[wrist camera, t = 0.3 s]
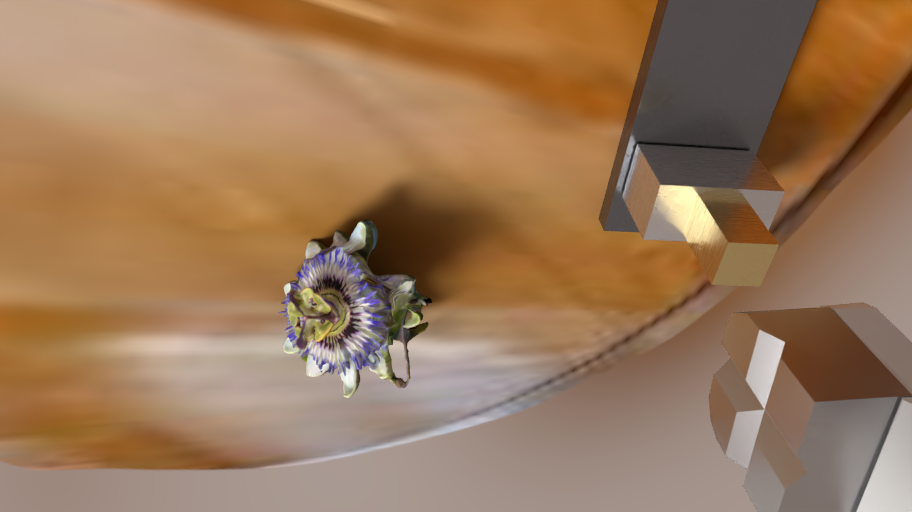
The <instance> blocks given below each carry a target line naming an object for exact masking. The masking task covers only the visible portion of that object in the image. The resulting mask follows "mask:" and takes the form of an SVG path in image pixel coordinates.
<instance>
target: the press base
mask: <svg viewBox="0 0 912 512" xmlns="http://www.w3.org/2000/svg"><path fill="white" fill-rule="evenodd" d="M816 2H817V0H658V4H657V7H656V11H655V15H654V18H653V22H652V25H651V29H650V33H649V36H648V40H647V44H646V47H645V51H644V55H643V58H642V62H641V66H640V69H639V73H638V77H637V80H636V84H635V88H634V91H633V95H632V99H631V102H630V106H629V110H628V113H627V117H626V121H625V124H624V128H623V132H622V135H621V139H620V143H619V146H618V150H617V154H616V157H615V161H614V165H613V168H612V172H611V176H610V179H609V183H608V187H607V190H606V194H605V198H604V201H603V205H602V209H601V212H600V216H599V220H600V223H601V225H602V227H603V230H604V231H623V232H639V230H638V228H637V226H636V224H635V222H634V220H633V218H632V216H631V214H630V212H629V210H628V207H627V205H626V203H625V201H624V199H623V197H622V195H623V191H624V188H625V184H626V181H627V177H628V174H629V170H630V167H631V163H632V160H633V156H634V153H635V150H636V146H637V144H645V145H661V146H678V147H694V148H710V149H726V150H743V151H753V152H754V154H755V155H757V152H758V150H759V147H760V145H761V142H762V140H763V137H764V135H765V132H766V129H767V127H768V124H769V122H770V119H771V117H772V114H773V112H774V109H775V107H776V104H777V101H778V99H779V96H780V94H781V91H782V89H783V86H784V84H785V81H786V78H787V76H788V73H789V71H790V68H791V66H792V63H793V61H794V58H795V56H796V53H797V50H798V48H799V45H800V43H801V40H802V38H803V35H804V33H805V30H806V28H807V25H808V22H809V20H810V17H811V15H812V12H813V10H814V7H815V5H816Z"/></svg>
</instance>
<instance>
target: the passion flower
mask: <svg viewBox="0 0 912 512" xmlns="http://www.w3.org/2000/svg"><path fill="white" fill-rule="evenodd" d="M377 239H378V230H377V228H376V226H375V225H374V223H373V222H372V221H371V220H369V219H368V220H364V221H360V222H359V223H358V224H357V226H356V228H355V230H354V231H353V233H352V234H351V236H350V238H349V237H348V236H347V235H346V234H344V233H343V232H341V231H340V230H336V231H335V234H334V237H333V243H332V245H331V247H330V248H328V247H325V246H324V245H323V244H322V243H320V242H317V241H310V242H309V243H308V245H307V249H306V259H304V264H303V265H302V269H301V271H300V272H298V273H297V274H296V276H297V277H298V281H295V280H293V281H291V282H288V283H287V284H286V285H285V287H284V291H285V294H286V298H285V299H284V301H285V302H282V303H281V304H286V305H285V310H286V311H282V312H279V314H280V313H285V315H284V317H285V316H286V317H287V318H288V320H287V323H288V327H287V328H286V330H285V331H286V332H287V333H288V336H287V338H286V340H285V342H284V344H283V350H284V352H285V353H289V354H291V353H295V352H297V351H299V353H298V354H300V355H301V358H302V359H303V361H305V362H307V363H306V374H307V375H308V376H310V377H316V376H320V375H323V374H325V373H326V372H328V371H329V373H330V374H331V375H332V374H333V373H334V369H336V368H338V371H339V372H338V374H340V376H341V380H342V381H343V382H344V385H343V387H344V389H343V391H344V397H351V396H352V395H353V394H354V392H355V391H356V390H357V388H358V386H359V382H360V375H359V370H360V369H362V365H363V366H364V367H365V366H369V369H370V370H371V371H374V372H376V373H377V374H378V375H379V377H380V378H381V379H389V380H390V381H391V382H393V383H394V384H395V385H396V386H397V387H398V388H405V387H406V386H407V384H408V382H409V379H410V366H409V357H408V349H407V343H408V342H409V340H411V339H412V338H413V337H415V336H416V335H418V334H419V333H421V332H423V331H425V330H426V328H427V327H428V322H426V323H422V324H420V325H417V324H419V323H420V322H421V321H422V319H423V315H422V313H421V308H422V306H423V305H427V304H429V303H433V302H432V300H431V299H430V298H427V297H425V296H422V295H420V294H419V293H418V292H417V291H416V289H415V282H416V278H414V277H413V276H410V275H408V274H386V275H375V274H373V273H372V272H371V270H370V269H369V267H368V265H367V263H368V258H369V255H370V253H371V251H372V250H373V249H374V248H375V246H376V242H377ZM413 303H416V304H414V305H412V304H413ZM427 306H428V305H427ZM408 310H410V311H411V313H412V317H410V318H409V319H408V320H407V321H406V323H405V318H406V314H407V311H408ZM416 325H417V326H416ZM412 326H416V327H412ZM407 327H412V328H409V329H406V328H407ZM393 340H397V341H400V342H402V343H403V344H404V350H405V359H406V365H407V366H406V369H407V381H406V382H404V381H403V379H401V378H396V376H395V374H394V372H393V370H392V364H391V357H390V353H389V349H388V345H393Z"/></svg>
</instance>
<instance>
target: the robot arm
mask: <svg viewBox="0 0 912 512" xmlns="http://www.w3.org/2000/svg"><path fill="white" fill-rule="evenodd" d="M721 343H722V345H723V347H724V348H725V350H726V351H727V353H728V355H729V356H730V359H729V360H728V361H727V362H726V363H725V364H724V365H722V366H721V368H719V369H718V370H717V371H716V372H715V373H714V375H713V380H712V385H711V390H710V395H709V405H710V418H711V423H712V427H713V430H714V433H715V436H716V439H717V441H718V443H719V445H720V446H721V448H722V450H723V452H724V454H725V456H727V457H728V458H730V459H731V460H733V461H734V462H736V463H738V464H739V465H740V466H742V467H744V468H745V469H747V473H746V477H745V480H744V484H743V488H744V489H745V491H746V493H747V495H748V496H749V498H750V500H751V501H752V503H753V505H754V507H755V508H756V510H757V512H912V342H911V341H910V340H909V339H908V338H907V337H906V336H905V335H904V334H903V333H902V332H900V331H899V330H898V329H897V328H896V327H895V326H894V325H893V324H892V323H891V322H890V321H889V320H888V319H887V318H886V317H885V316H884V315H883V314H882V313H881V312H880V311H879V310H878V309H877V308H875V307H873V306H870V305H868V304H865V303H852V304H840V305H827V306H820V307H818V308H803V309H786V310H770V311H755V312H736V313H733V315H732V316H731V317H730V319H729V320H728V322H727V323H726V326H725V330H724V334H723V338H722V342H721Z"/></svg>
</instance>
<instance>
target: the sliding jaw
mask: <svg viewBox="0 0 912 512" xmlns="http://www.w3.org/2000/svg"><path fill="white" fill-rule="evenodd" d="M784 193H785V191H784V190H783V188H782V187H781V186H780V185H779V183H778V182H777V181H776V180H775V178H774V177H773V176H772V175H771V173H770V172H769V171H768V170H767V168H766V167H765V166H764V165H763V163H762V162H761V161H760V160H759V158H758V157H757V156H756V155H755V154H754V152H753V151H743V150H726V149H710V148H694V147H678V146H661V145H645V144H637V146H636V150H635V153H634V156H633V160H632V163H631V167H630V170H629V174H628V177H627V181H626V184H625V188H624V191H623V195H622V197H623V199H624V201H625V203H626V205H627V207H628V210H629V212H630V214H631V216H632V218H633V220H634V222H635V224H636V226H637V228H638V230H639V232H640V234H641V236H642V238H643V239H645V240H668V241H687V242H688V244H689V245H690V247H691V249H692V251H693V253H694V254H695V256H696V258H697V260H698V261H699V263H700V265H701V267H702V268H703V270H704V272H705V274H706V276H707V277H708V279H709V281H710V283H711V284H712V285H734V286H761V283H762V281H763V279H764V277H765V274H766V272H767V270H768V267H769V266H770V263H771V261H772V259H773V257H774V254H775V252H776V250H777V248H778V245H779V244H778V243H777V241H776V240H775V239H774V237H773V236H772V235H771V233H770V232H769V228H770V225H771V223H772V221H773V218H774V216H775V214H776V211H777V209H778V207H779V204H780V202H781V200H782V197H783V195H784Z"/></svg>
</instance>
